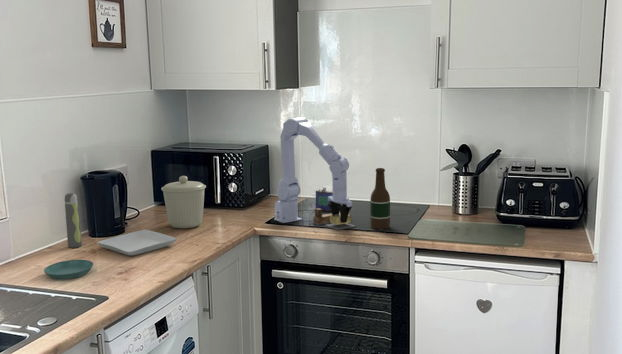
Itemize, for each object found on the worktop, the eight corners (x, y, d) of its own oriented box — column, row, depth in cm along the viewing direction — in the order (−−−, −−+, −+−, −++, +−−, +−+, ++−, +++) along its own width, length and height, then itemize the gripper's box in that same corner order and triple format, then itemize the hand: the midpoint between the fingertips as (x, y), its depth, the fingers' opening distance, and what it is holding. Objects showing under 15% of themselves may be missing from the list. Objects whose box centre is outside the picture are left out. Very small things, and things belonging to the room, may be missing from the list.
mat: (337, 230, 241) (337, 229, 241) (324, 225, 248) (324, 224, 248) (355, 226, 246) (355, 225, 245) (342, 222, 253) (342, 221, 253)
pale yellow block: (336, 224, 243) (336, 216, 242) (329, 222, 247) (329, 213, 246) (350, 222, 246) (350, 213, 246) (343, 219, 251) (343, 211, 250)
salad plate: (129, 260, 208) (128, 251, 207) (96, 249, 222) (95, 240, 221) (179, 246, 224) (178, 237, 223) (145, 237, 238) (145, 228, 237)
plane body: (317, 225, 250) (317, 210, 249) (312, 223, 253) (312, 208, 252) (350, 219, 258) (350, 205, 257) (345, 217, 261) (344, 203, 260)
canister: (212, 228, 248) (209, 177, 244) (167, 233, 241) (164, 181, 238) (203, 218, 265) (200, 171, 261) (160, 223, 258) (157, 174, 254)
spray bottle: (85, 245, 226) (80, 192, 223) (74, 248, 222) (70, 195, 219) (75, 244, 229) (70, 192, 225) (65, 247, 224) (60, 194, 221)
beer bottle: (389, 225, 247) (389, 166, 243) (390, 229, 240) (390, 169, 236) (370, 224, 248) (370, 166, 244) (370, 229, 241) (370, 170, 237)
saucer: (49, 269, 200) (48, 261, 199) (96, 265, 203) (95, 257, 203) (40, 284, 186) (39, 276, 185) (91, 279, 189) (90, 271, 189)
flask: (335, 210, 275) (334, 187, 273) (332, 212, 273) (331, 188, 271) (317, 208, 280) (316, 186, 278) (314, 210, 277) (313, 187, 275)
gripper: (358, 189, 240) (358, 223, 243) (337, 184, 252) (337, 216, 255) (343, 191, 237) (344, 225, 239) (323, 186, 249) (323, 218, 251)
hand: (340, 221), depth 247 cm, fingers closed on pale yellow block, 5 cm apart
